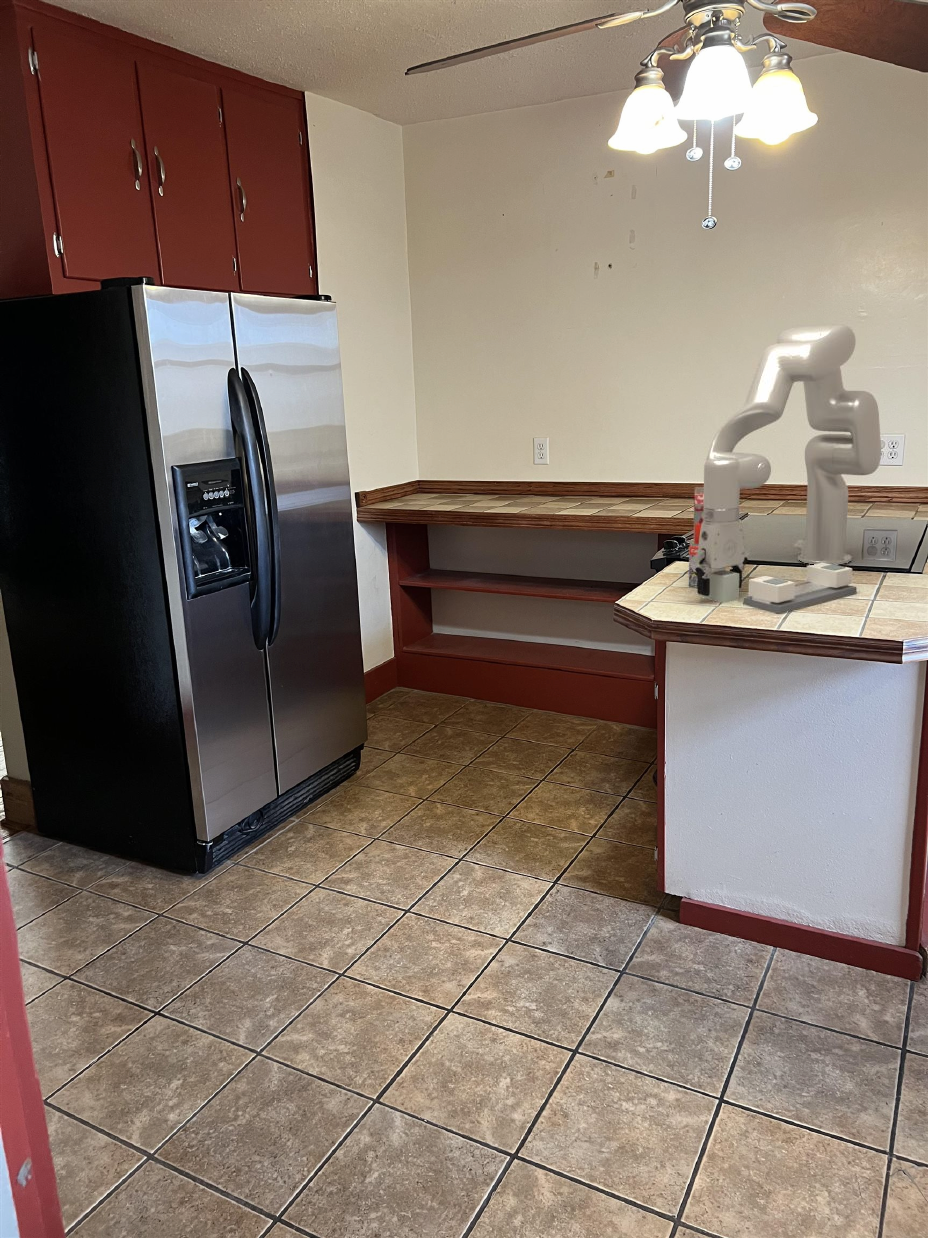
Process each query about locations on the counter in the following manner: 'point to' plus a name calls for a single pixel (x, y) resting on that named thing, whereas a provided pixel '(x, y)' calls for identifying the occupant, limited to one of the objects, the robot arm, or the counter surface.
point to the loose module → (723, 586)
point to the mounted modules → (785, 589)
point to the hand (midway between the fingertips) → (719, 591)
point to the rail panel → (802, 597)
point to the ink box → (692, 552)
